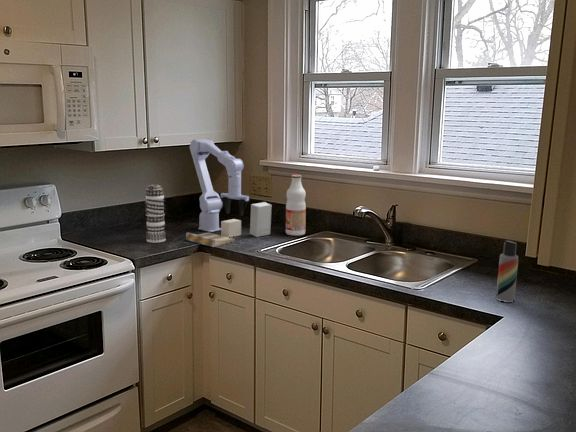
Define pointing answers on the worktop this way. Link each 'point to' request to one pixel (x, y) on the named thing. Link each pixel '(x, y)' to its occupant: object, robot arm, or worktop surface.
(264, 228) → the skincare box
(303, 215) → the fruit juice
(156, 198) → the grey striped cylinder
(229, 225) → the carton
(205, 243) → the tan flat slab
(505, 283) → the lotion bottle
